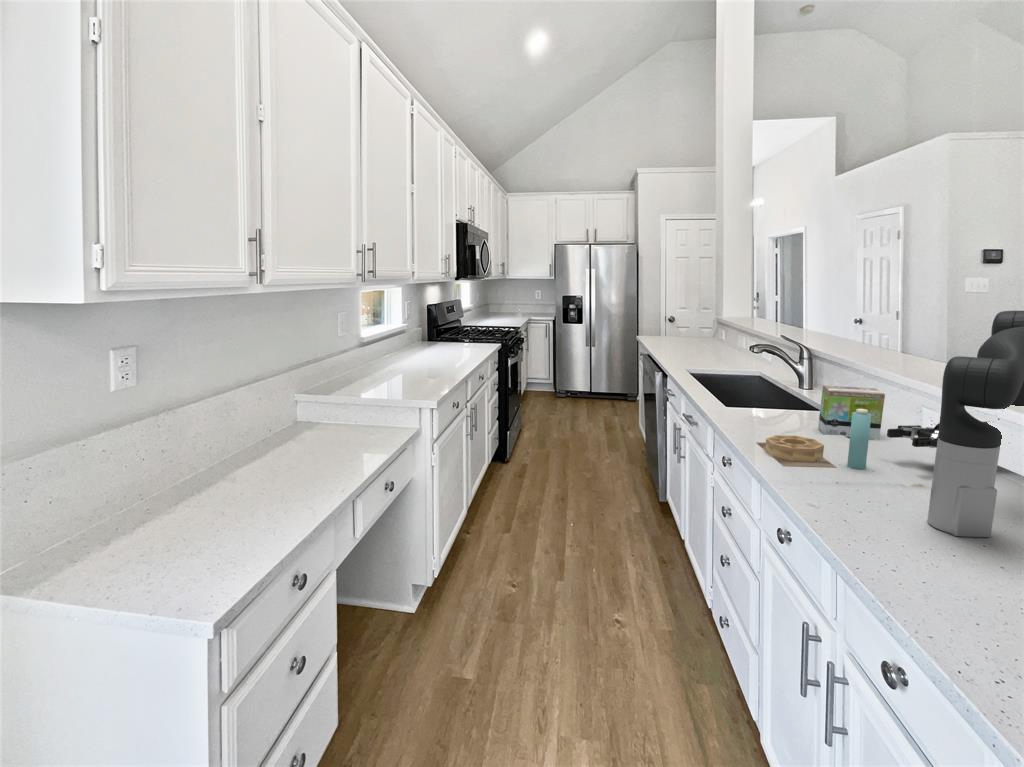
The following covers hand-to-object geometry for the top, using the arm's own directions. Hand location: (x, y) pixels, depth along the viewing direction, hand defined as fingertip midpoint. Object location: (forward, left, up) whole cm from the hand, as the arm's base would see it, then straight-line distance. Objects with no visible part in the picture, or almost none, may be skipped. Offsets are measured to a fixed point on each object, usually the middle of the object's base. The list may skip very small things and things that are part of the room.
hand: (900, 437), depth 140 cm
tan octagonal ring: (+8, +22, -7) cm, 25 cm away
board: (+8, +22, -9) cm, 25 cm away
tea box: (+35, -4, -9) cm, 36 cm away
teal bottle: (-2, +11, -9) cm, 14 cm away
